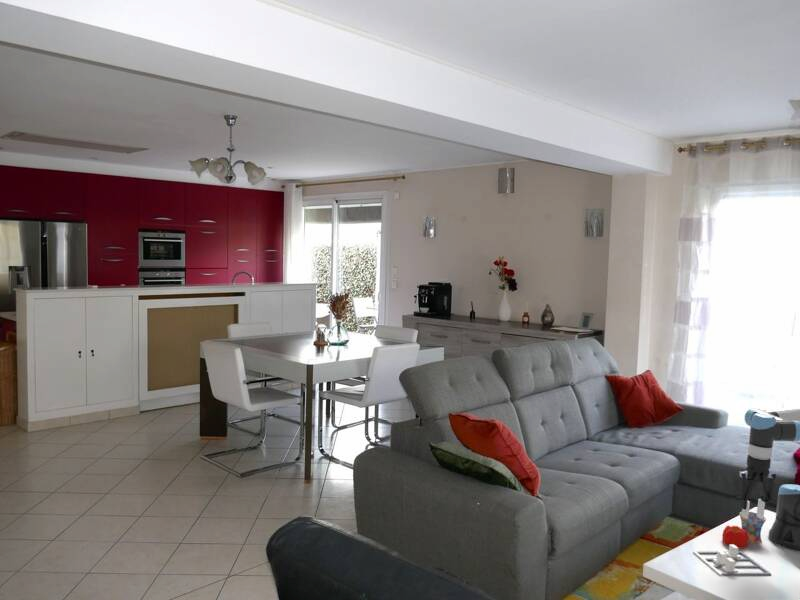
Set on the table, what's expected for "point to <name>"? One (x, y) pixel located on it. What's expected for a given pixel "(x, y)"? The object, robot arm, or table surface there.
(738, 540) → the tomato
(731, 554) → the tab
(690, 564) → the table surface
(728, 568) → the tab
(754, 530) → the mug
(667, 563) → the table surface
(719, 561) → the tab
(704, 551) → the switch bank
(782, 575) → the table surface
